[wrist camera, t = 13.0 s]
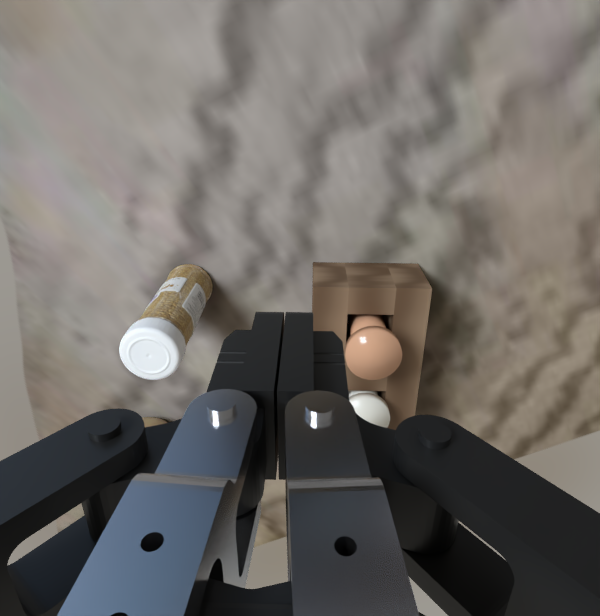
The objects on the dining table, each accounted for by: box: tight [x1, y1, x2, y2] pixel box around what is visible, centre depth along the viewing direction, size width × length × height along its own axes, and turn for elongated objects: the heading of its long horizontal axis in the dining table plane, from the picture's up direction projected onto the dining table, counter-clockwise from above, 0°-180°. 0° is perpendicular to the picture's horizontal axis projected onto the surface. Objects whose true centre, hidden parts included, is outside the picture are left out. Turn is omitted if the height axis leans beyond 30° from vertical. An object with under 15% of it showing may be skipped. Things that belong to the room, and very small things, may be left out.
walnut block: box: [312, 262, 432, 430], centre depth 48 cm, size 10×25×6 cm, turn 0°
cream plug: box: [348, 391, 390, 428], centre depth 47 cm, size 5×5×7 cm
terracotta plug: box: [345, 314, 402, 380], centre depth 42 cm, size 5×5×7 cm
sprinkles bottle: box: [119, 264, 213, 380], centre depth 41 cm, size 5×5×13 cm
